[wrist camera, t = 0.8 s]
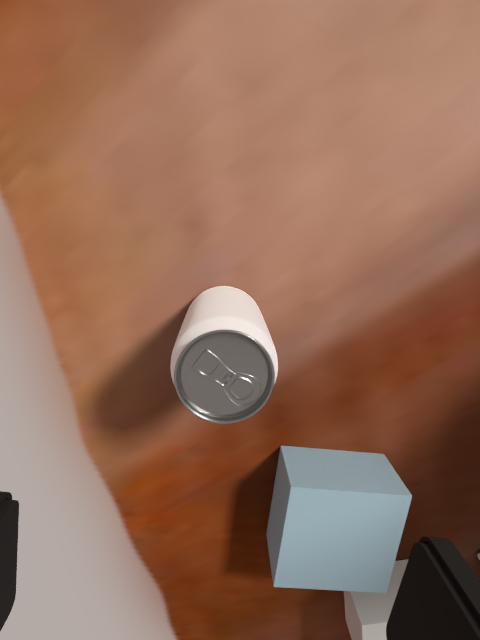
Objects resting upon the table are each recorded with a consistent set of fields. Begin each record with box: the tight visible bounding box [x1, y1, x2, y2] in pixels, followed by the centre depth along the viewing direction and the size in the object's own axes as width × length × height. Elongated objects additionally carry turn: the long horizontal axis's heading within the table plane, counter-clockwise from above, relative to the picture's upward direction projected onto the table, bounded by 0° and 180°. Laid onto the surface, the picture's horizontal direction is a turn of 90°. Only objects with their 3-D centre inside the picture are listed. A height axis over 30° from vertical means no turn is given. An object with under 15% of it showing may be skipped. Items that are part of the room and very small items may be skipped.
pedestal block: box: [266, 446, 412, 593], centre depth 35 cm, size 10×10×6 cm
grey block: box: [344, 559, 409, 640], centre depth 39 cm, size 7×7×6 cm
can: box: [170, 286, 278, 424], centre depth 27 cm, size 6×6×12 cm
